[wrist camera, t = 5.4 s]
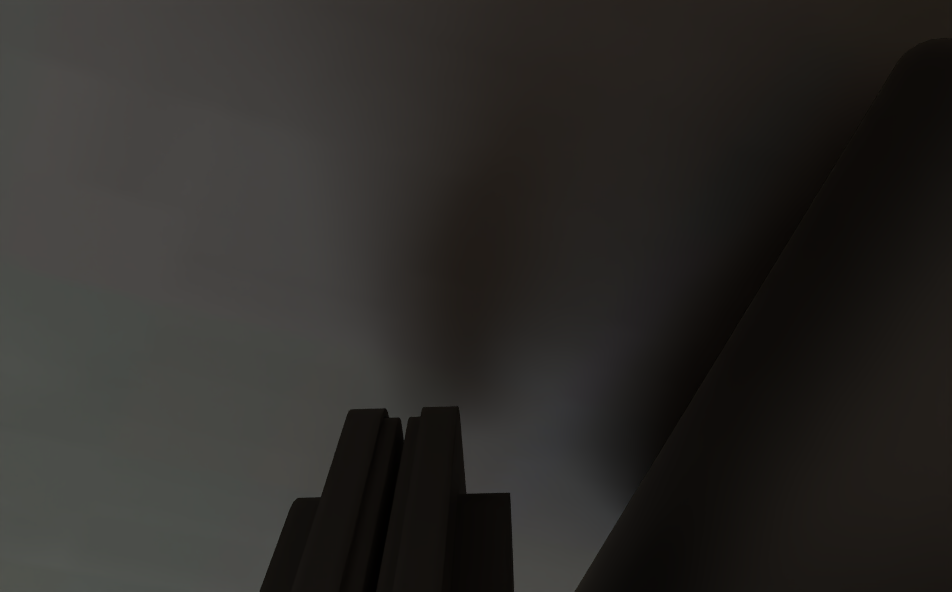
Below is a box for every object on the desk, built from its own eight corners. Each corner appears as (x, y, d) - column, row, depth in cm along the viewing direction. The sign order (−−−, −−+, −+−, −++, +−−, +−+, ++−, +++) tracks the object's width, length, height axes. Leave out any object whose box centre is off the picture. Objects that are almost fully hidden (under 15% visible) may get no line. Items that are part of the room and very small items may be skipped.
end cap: (795, -2, 9) (1451, 125, 3) (1242, 183, 10) (2450, 578, 4) (513, 538, 13) (528, 1044, 7) (840, 630, 14) (1098, 1144, 8)
